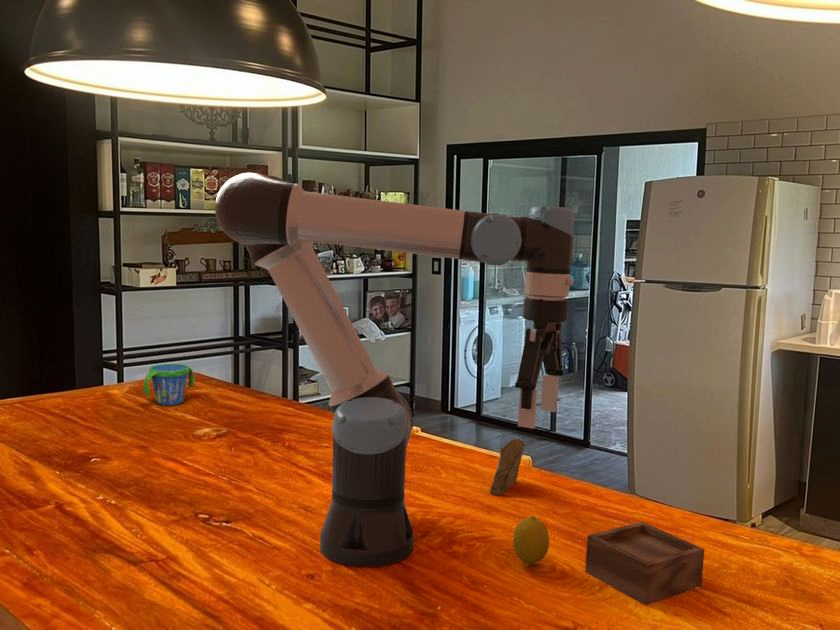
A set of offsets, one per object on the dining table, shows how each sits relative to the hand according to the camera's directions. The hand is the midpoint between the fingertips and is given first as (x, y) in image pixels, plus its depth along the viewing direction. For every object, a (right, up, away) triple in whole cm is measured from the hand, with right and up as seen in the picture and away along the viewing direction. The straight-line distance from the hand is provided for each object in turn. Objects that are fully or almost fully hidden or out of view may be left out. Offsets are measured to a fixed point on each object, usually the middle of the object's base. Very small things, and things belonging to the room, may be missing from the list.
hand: (537, 418), depth 138 cm
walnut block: (+13, -22, -18) cm, 32 cm away
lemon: (-3, -21, -14) cm, 26 cm away
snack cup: (-90, -7, +82) cm, 122 cm away
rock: (-4, -17, +22) cm, 28 cm away
